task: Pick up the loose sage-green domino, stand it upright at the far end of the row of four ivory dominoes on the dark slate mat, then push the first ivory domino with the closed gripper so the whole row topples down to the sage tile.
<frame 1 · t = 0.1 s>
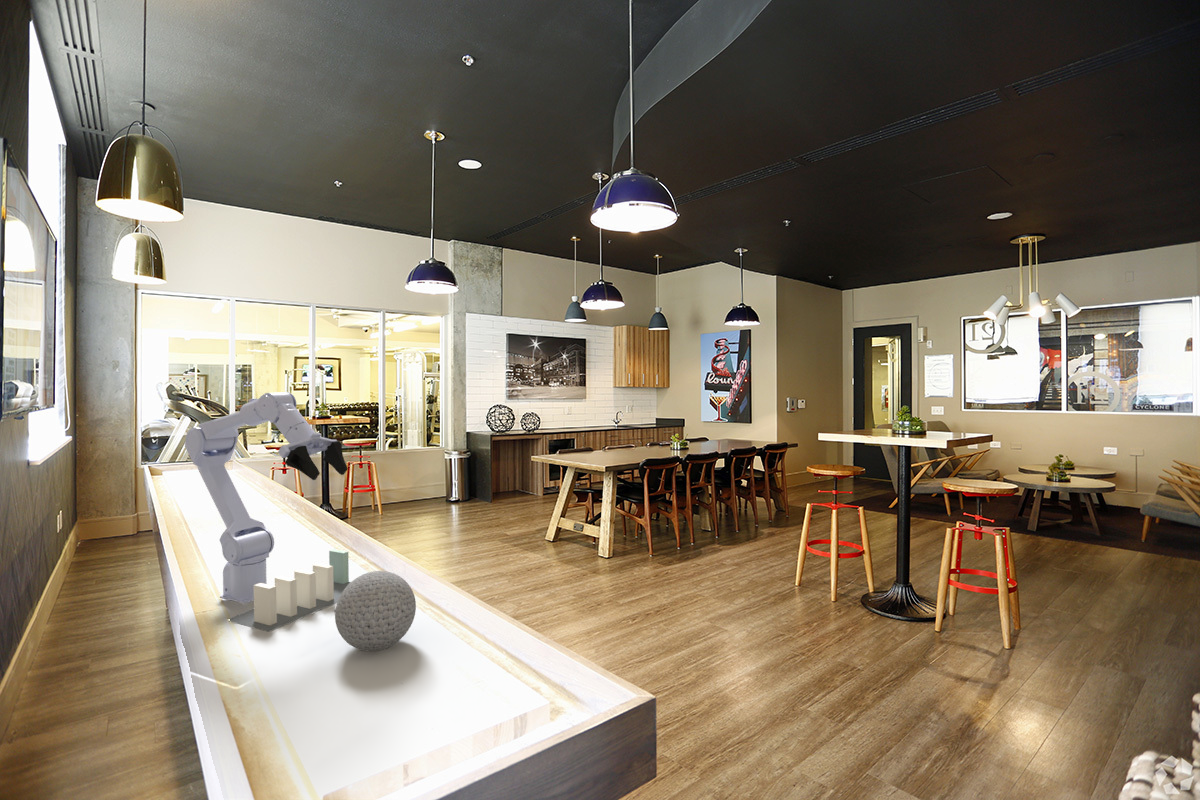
hand: (330, 474, 131), 32 cm above the table, tool tilted 50°, fingers open, 7 cm apart
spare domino: (339, 581, 154), resting on slate mat
decorative ball: (376, 648, 118), on the table
domino 2: (286, 613, 133), resting on slate mat
domino 1: (265, 622, 128), resting on slate mat
domino 4: (323, 598, 142), resting on slate mat
slate mat: (304, 603, 140), on the table
domino 3: (305, 605, 137), resting on slate mat
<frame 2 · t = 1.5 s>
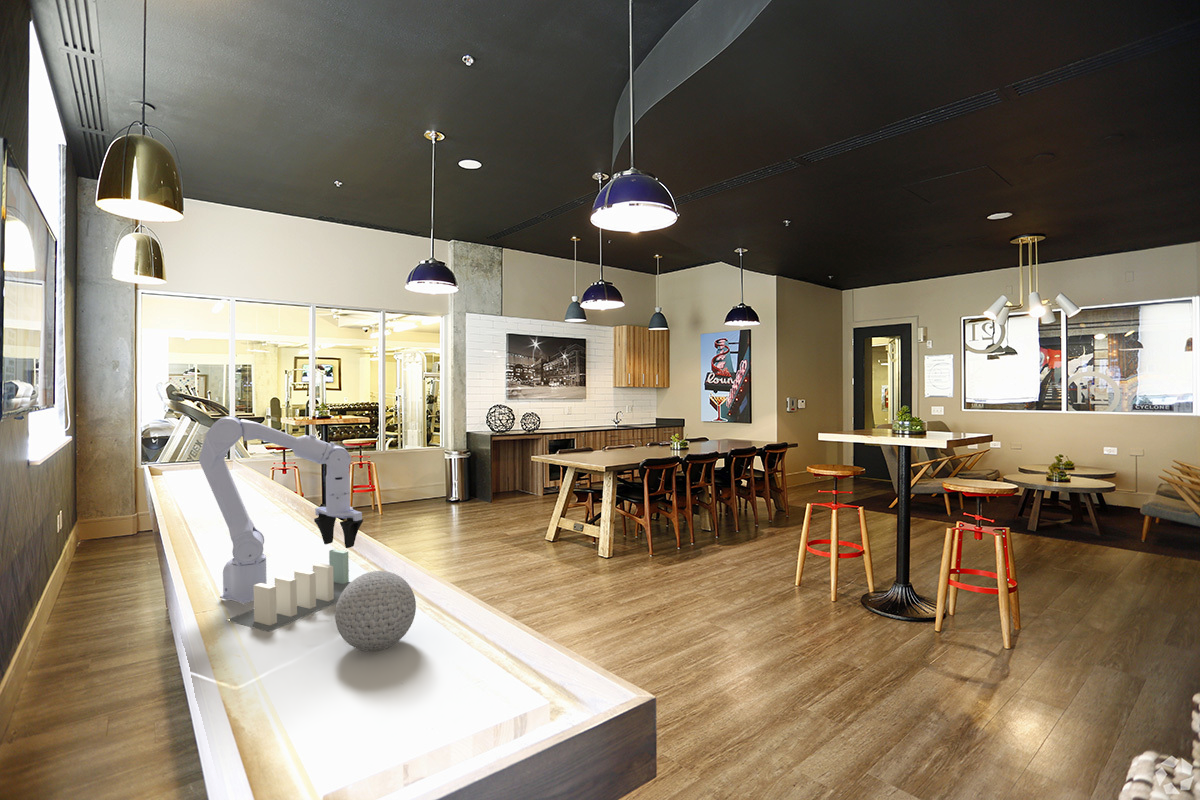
hand: (338, 545, 153), 10 cm above the table, tool pointing down, fingers open, 7 cm apart
nothing on the table moved.
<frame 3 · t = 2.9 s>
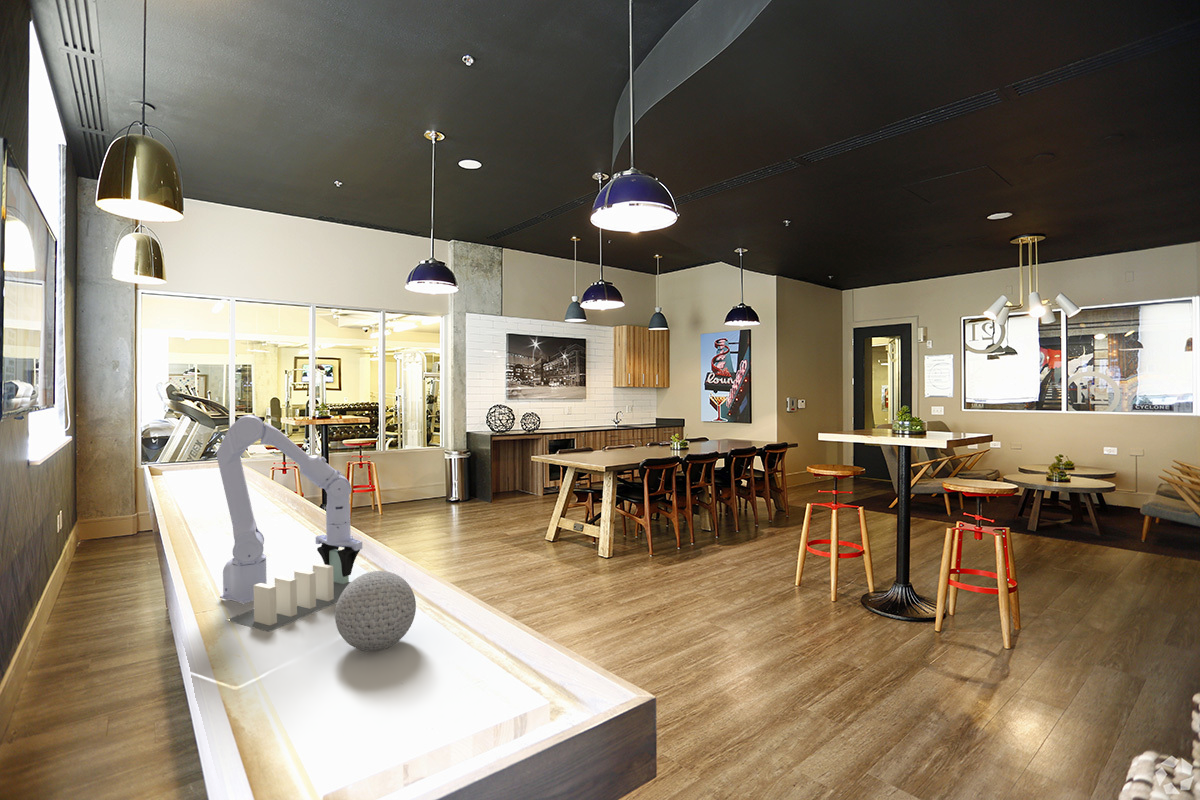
hand: (339, 574, 154), 2 cm above the table, tool pointing down, fingers closed on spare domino, 5 cm apart
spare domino: (339, 581, 154), resting on slate mat, touching gripper
everything else where it was.
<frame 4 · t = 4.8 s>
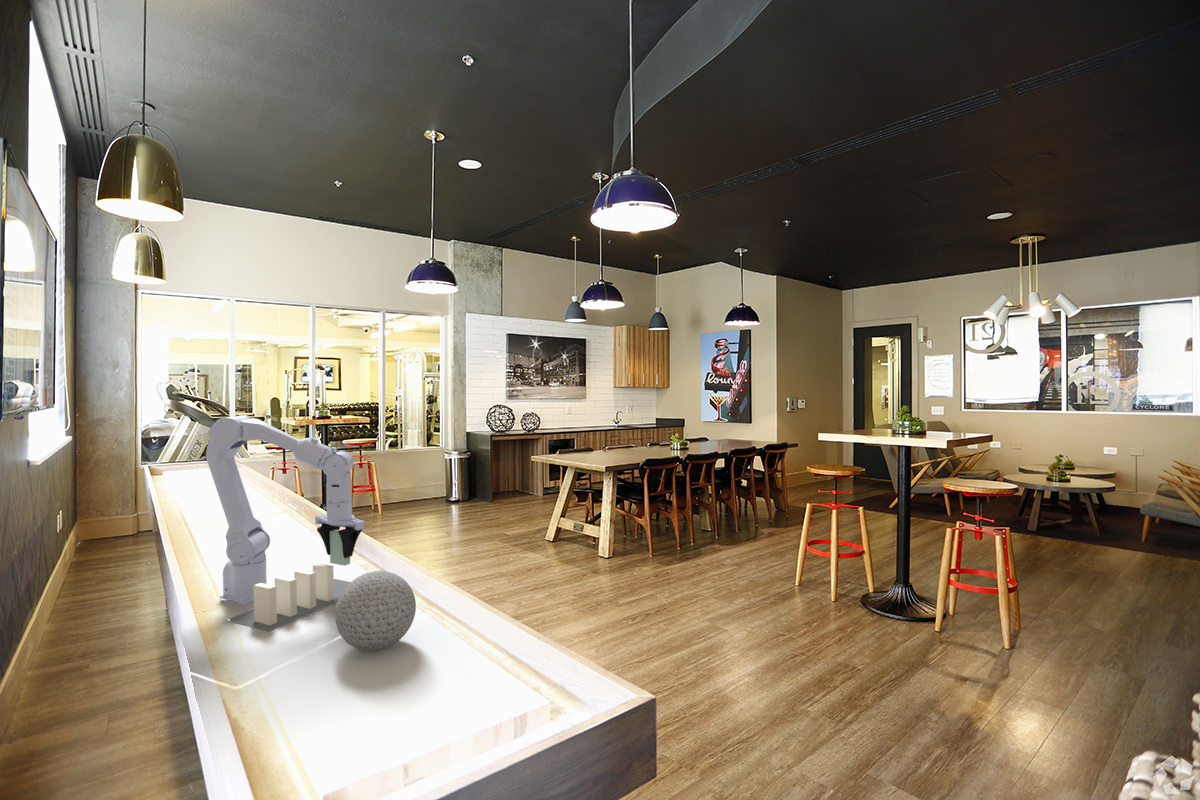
hand: (339, 555, 146), 9 cm above the table, tool pointing down, fingers closed on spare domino, 5 cm apart
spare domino: (340, 563, 147), point 7 cm above the table, touching gripper
everything else where it was.
when the fingers open (4 cm above the table, at t = 6.7 s): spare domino drops 1 cm, resting on slate mat.
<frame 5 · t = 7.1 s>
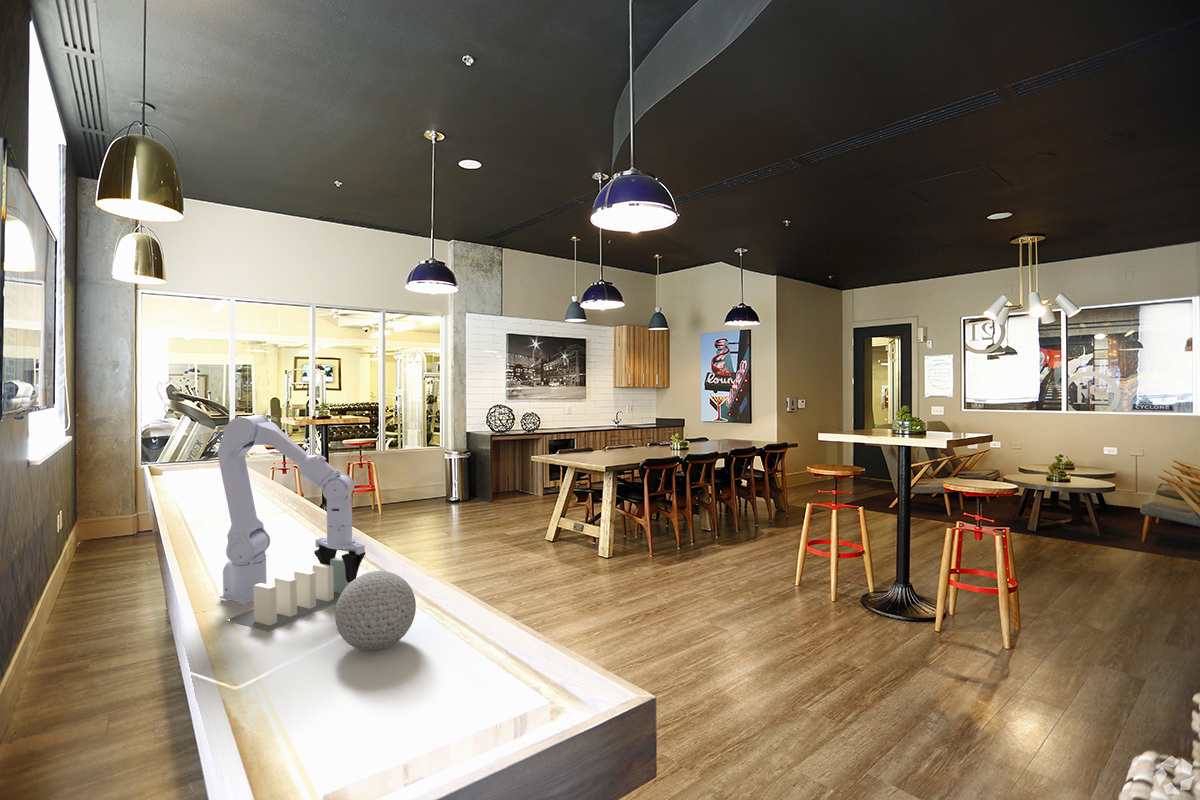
hand: (340, 578, 146), 4 cm above the table, tool pointing down, fingers open, 7 cm apart
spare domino: (340, 591, 147), resting on slate mat
everything else where it was.
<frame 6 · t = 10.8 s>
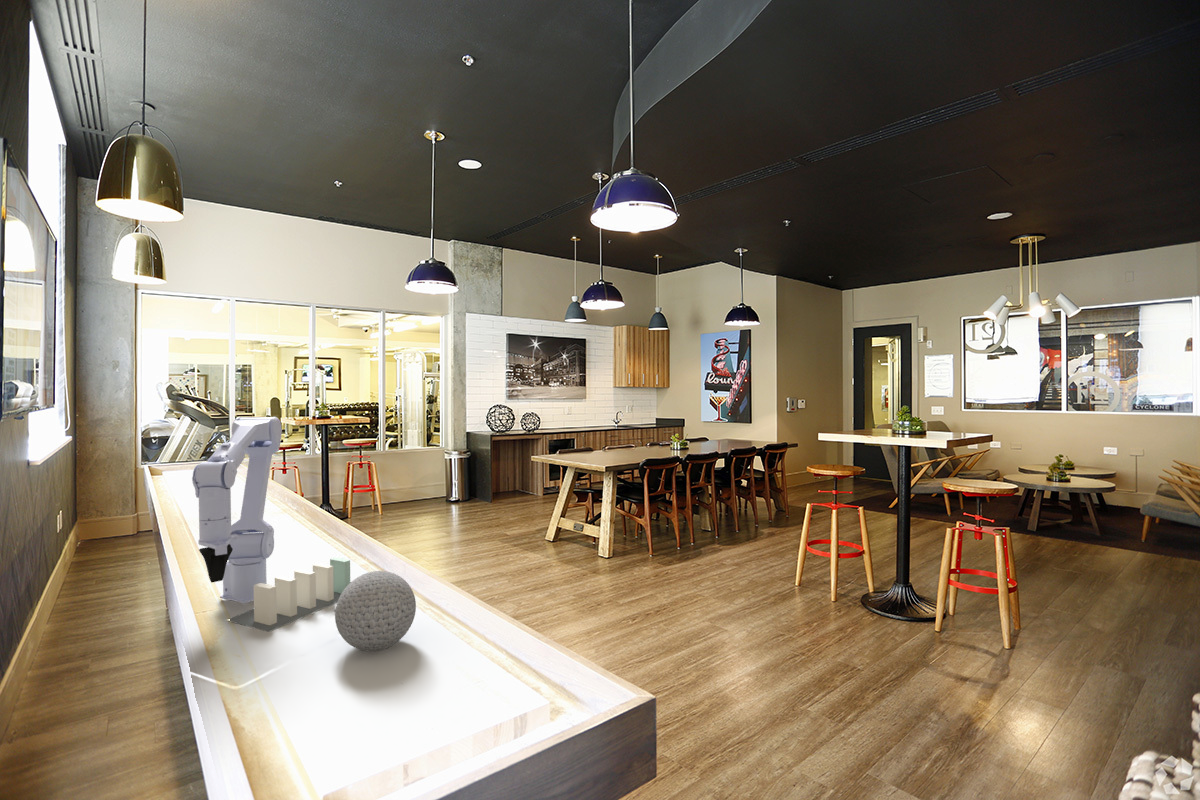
hand: (216, 580, 126), 10 cm above the table, tool pointing down, fingers closed
nothing on the table moved.
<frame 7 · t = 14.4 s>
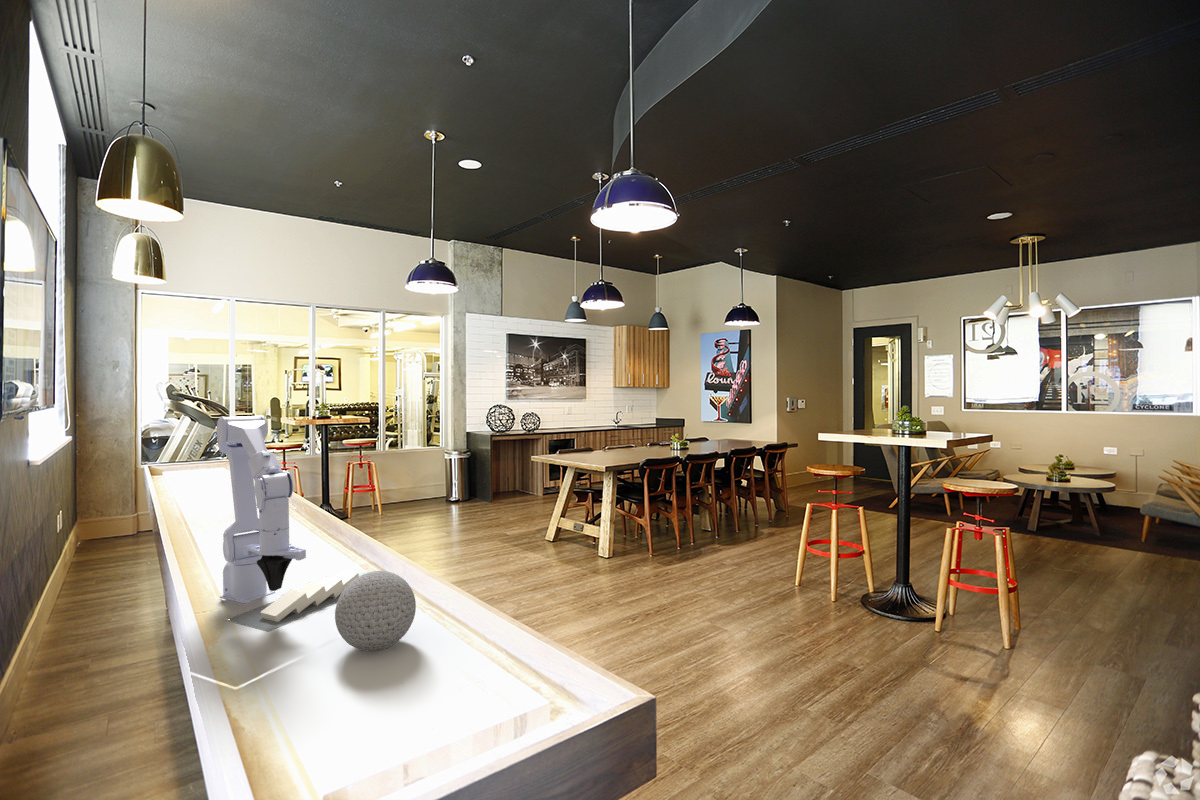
hand: (275, 589, 130), 7 cm above the table, tool pointing down, fingers closed
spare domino: (344, 586, 148), point 1 cm above the table, tilted 90°, touching domino 4, slate mat
domino 2: (289, 608, 134), point 1 cm above the table, tilted 71°, touching domino 1, domino 3, slate mat
domino 1: (268, 617, 129), point 1 cm above the table, tilted 71°, touching domino 2, slate mat
domino 4: (326, 593, 143), point 1 cm above the table, tilted 72°, touching domino 3, slate mat, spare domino
domino 3: (308, 601, 138), point 1 cm above the table, tilted 72°, touching domino 2, domino 4, slate mat
everything else where it was.
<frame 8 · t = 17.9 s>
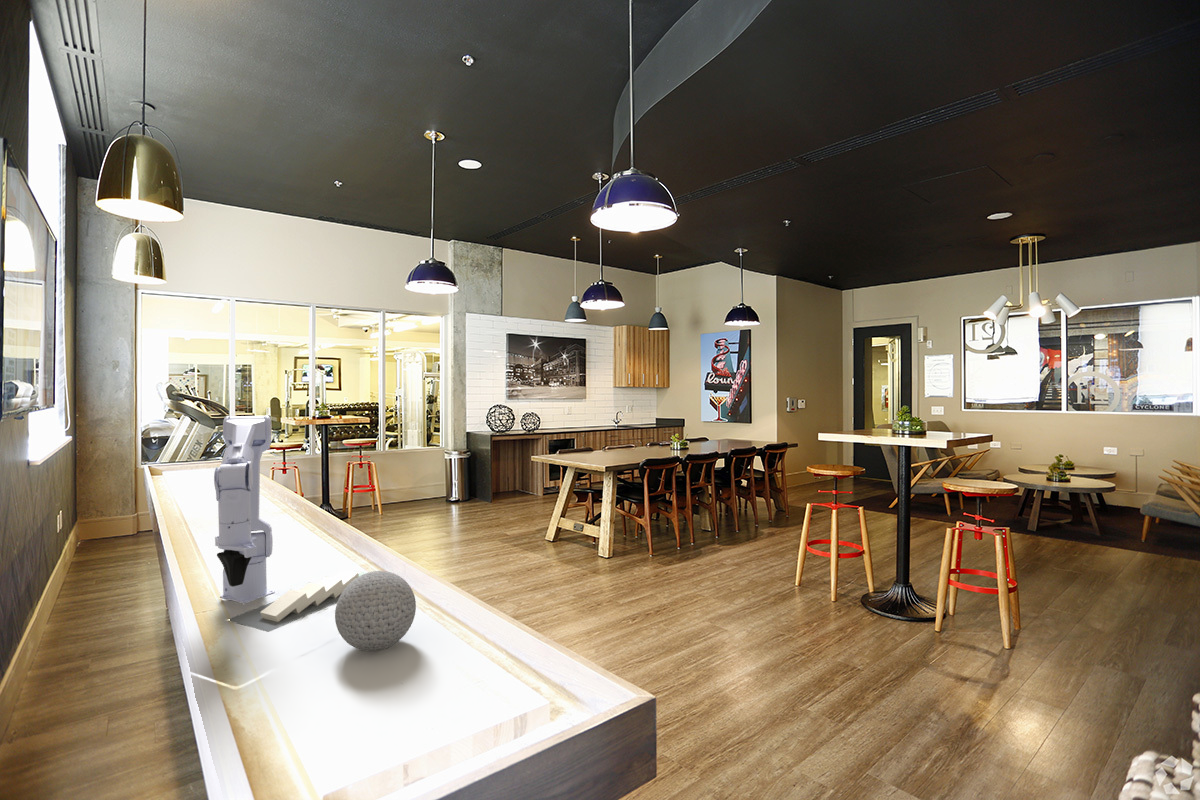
hand: (236, 584, 124), 10 cm above the table, tool pointing down, fingers closed
nothing on the table moved.
at the end: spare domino tilted 90°; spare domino inside the target area (0.8 cm from its centre), point 1.2 cm above the table; domino 1 tilted 71° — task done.
